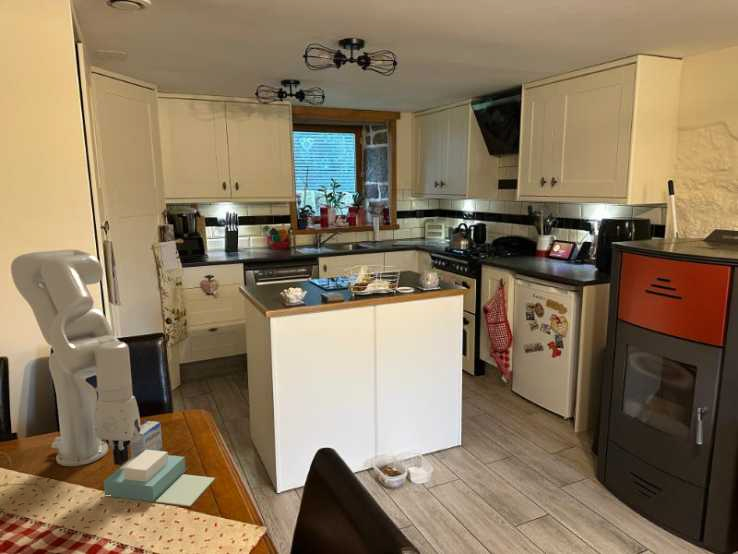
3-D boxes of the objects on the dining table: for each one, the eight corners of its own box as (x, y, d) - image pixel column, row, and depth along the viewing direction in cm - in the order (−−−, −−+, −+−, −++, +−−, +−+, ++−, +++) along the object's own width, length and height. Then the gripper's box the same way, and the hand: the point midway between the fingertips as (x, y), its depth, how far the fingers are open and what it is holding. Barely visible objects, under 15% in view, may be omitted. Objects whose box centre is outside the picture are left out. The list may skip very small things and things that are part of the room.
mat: (155, 502, 121) (155, 501, 121) (183, 475, 132) (182, 474, 132) (190, 506, 119) (190, 505, 119) (215, 478, 131) (215, 477, 131)
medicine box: (145, 464, 138) (143, 434, 136) (131, 462, 139) (128, 432, 137) (163, 450, 145) (161, 421, 144) (149, 448, 146) (146, 420, 145)
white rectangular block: (124, 479, 123) (123, 467, 123) (147, 460, 132) (146, 449, 132) (146, 481, 122) (145, 470, 122) (168, 462, 131) (167, 451, 130)
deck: (104, 495, 123) (103, 480, 123) (141, 466, 137) (140, 452, 136) (153, 502, 121) (152, 486, 120) (185, 471, 135) (184, 456, 134)
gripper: (77, 396, 123) (84, 467, 126) (132, 400, 120) (138, 473, 123) (99, 385, 130) (105, 452, 133) (152, 389, 127) (157, 457, 130)
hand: (121, 462), depth 128 cm, fingers closed
